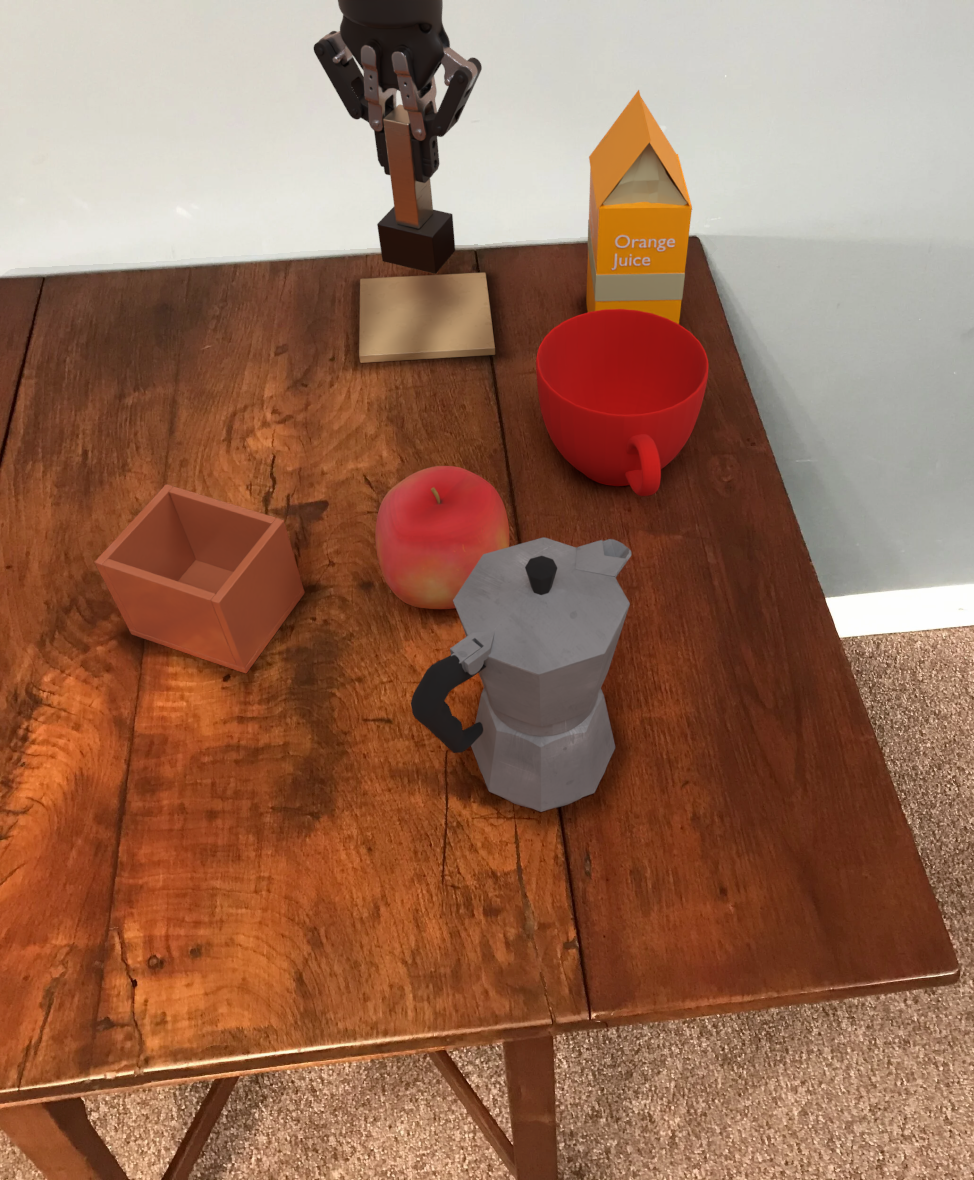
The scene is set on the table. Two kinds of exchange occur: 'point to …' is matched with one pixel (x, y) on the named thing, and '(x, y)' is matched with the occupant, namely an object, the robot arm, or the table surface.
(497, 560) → the coffeepot
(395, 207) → the steel square post
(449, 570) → the apple
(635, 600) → the table surface
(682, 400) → the ceramic cup
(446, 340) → the board
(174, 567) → the box
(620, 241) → the orange juice
